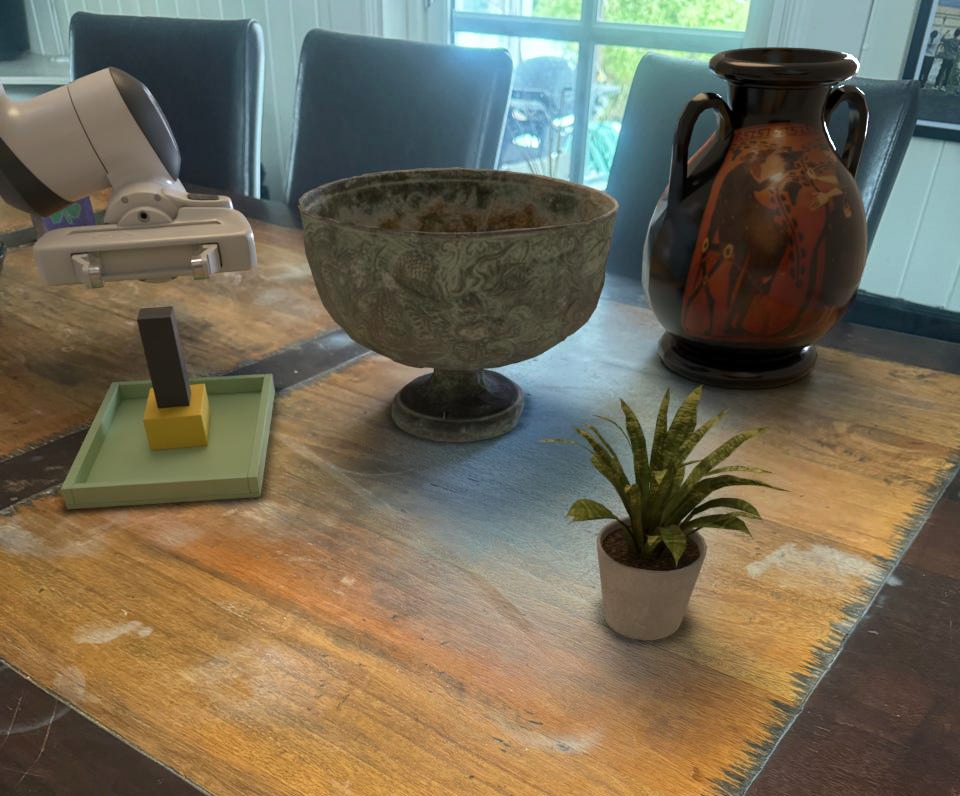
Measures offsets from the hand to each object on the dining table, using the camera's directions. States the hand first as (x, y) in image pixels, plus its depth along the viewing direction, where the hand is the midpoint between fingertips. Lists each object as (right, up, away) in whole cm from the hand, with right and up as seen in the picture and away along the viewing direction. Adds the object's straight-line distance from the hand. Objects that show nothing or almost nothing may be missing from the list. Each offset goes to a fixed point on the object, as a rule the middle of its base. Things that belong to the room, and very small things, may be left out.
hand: (147, 275), depth 85 cm
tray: (+3, -15, +1) cm, 16 cm away
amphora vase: (+57, -4, +15) cm, 59 cm away
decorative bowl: (+28, -11, +6) cm, 31 cm away
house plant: (+40, -32, -21) cm, 56 cm away
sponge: (+3, -14, +2) cm, 14 cm away
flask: (-31, +27, +55) cm, 69 cm away
